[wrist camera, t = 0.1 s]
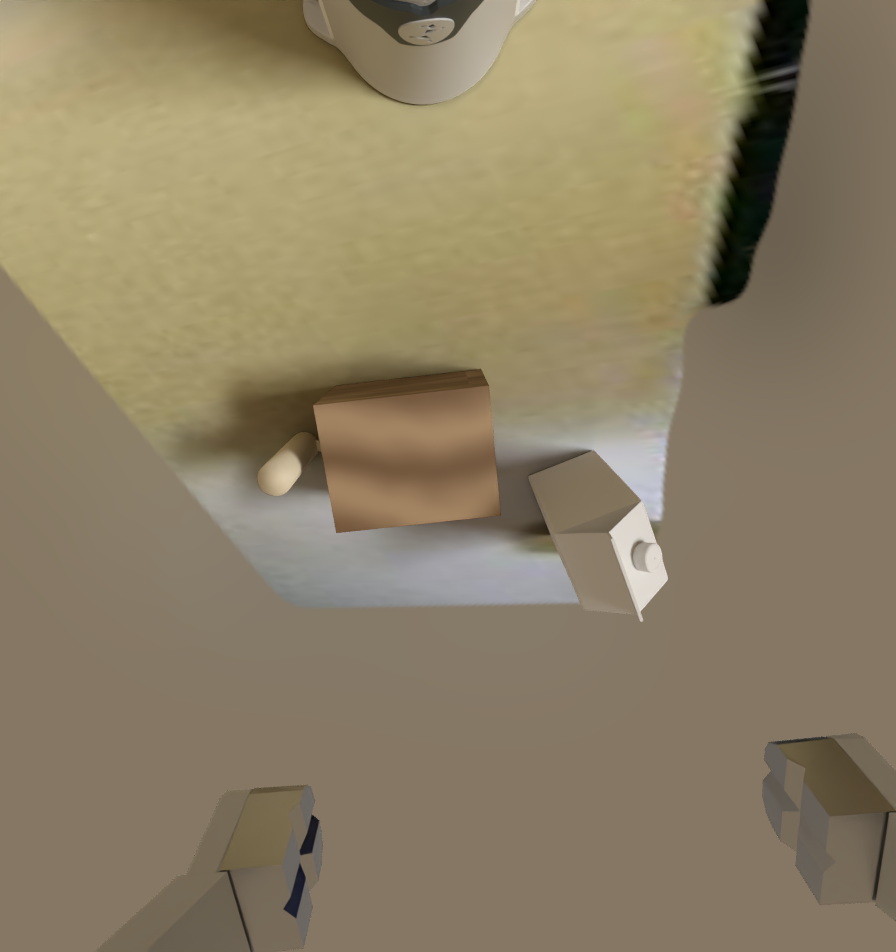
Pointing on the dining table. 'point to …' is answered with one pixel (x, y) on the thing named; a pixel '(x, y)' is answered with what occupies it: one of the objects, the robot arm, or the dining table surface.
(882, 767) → the robot arm
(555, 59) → the dining table surface
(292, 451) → the cream rounded block
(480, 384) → the walnut cubby
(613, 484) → the milk carton
